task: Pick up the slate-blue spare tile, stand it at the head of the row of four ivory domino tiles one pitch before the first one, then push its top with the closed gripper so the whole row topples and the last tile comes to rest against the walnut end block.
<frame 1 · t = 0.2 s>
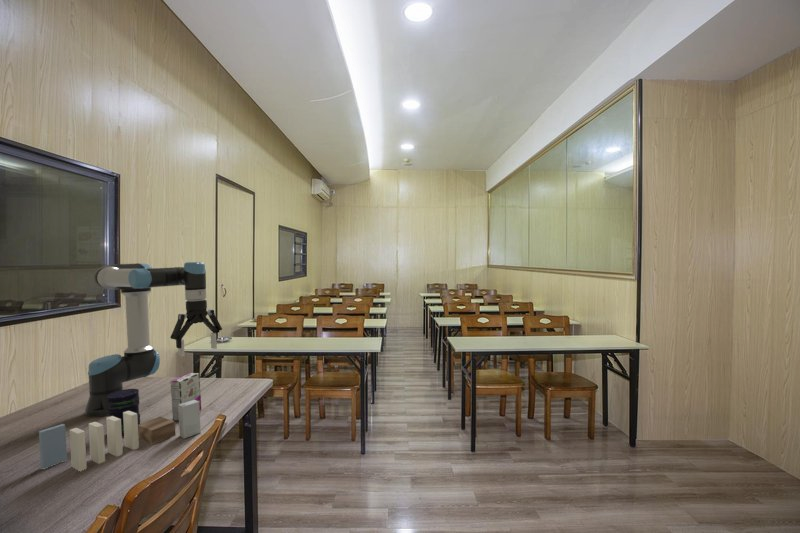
hand: (198, 352, 153), 28 cm above the table, fingers open, 13 cm apart
tile 1: (78, 467, 120), on the table
tile 3: (115, 453, 128), on the table
end block: (156, 436, 140), on the table
skincare box: (190, 435, 141), on the table
candy bar box: (187, 415, 159), on the table
storage jar: (125, 432, 145), on the table
spare tile: (54, 464, 122), on the table
tile 2: (97, 460, 124), on the table
tile 4: (131, 446, 133), on the table
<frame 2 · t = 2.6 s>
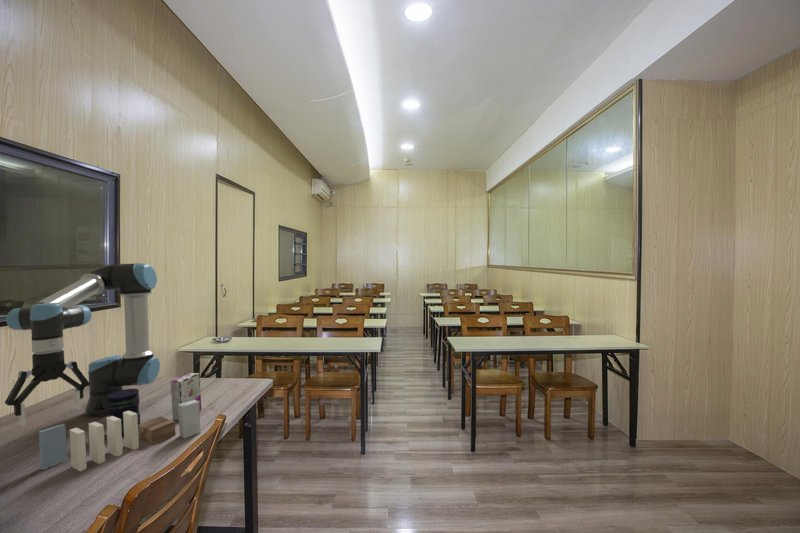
hand: (51, 416, 122), 16 cm above the table, fingers open, 13 cm apart
nothing on the table moved.
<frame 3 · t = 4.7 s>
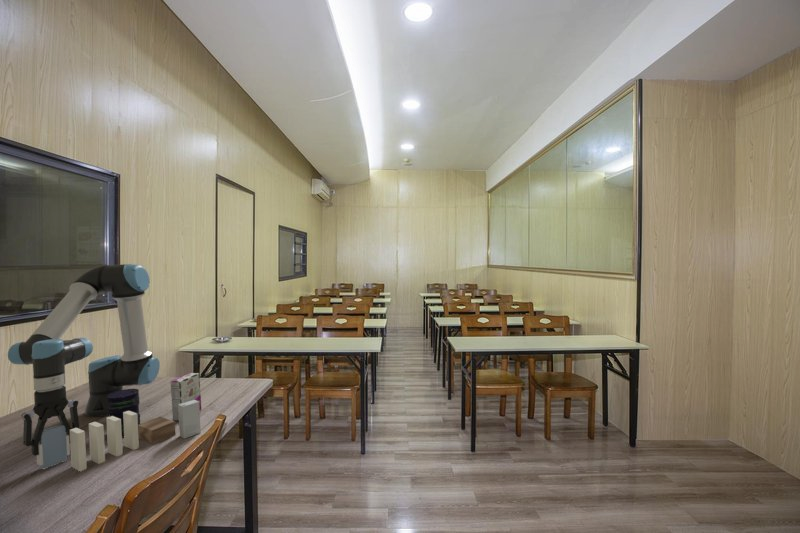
hand: (53, 458, 122), 2 cm above the table, fingers closed on spare tile, 6 cm apart
spare tile: (54, 464, 122), on the table, touching gripper
everything else where it was.
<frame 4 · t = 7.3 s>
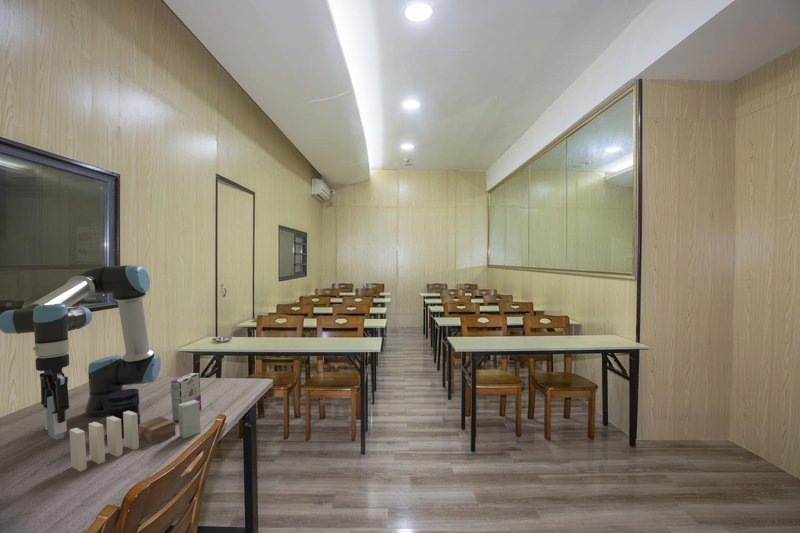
hand: (56, 430, 115), 14 cm above the table, fingers closed on spare tile, 6 cm apart
spare tile: (56, 436, 115), point 12 cm above the table, touching gripper
everything else where it was.
when the fingers open (2 cm above the table, at t = 10.0 s): spare tile stays where it is, on the table.
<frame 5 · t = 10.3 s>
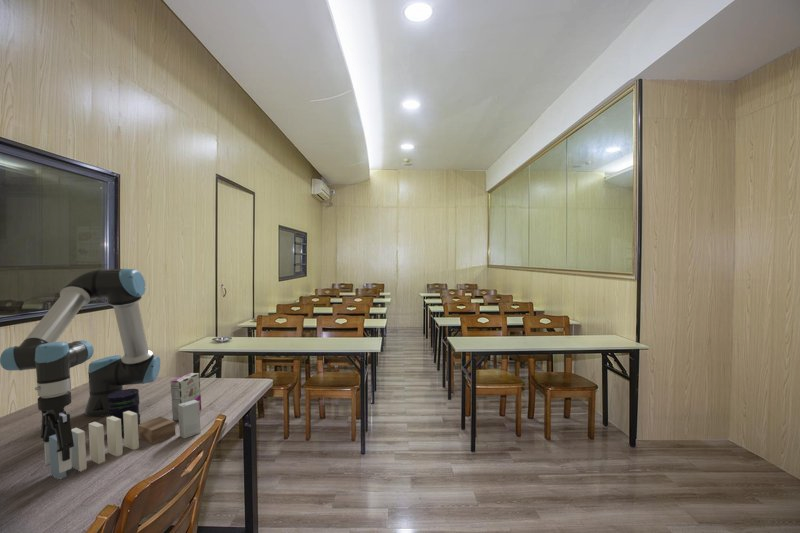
hand: (58, 465, 115), 3 cm above the table, fingers open, 10 cm apart
spare tile: (58, 476, 115), on the table
everything else where it was.
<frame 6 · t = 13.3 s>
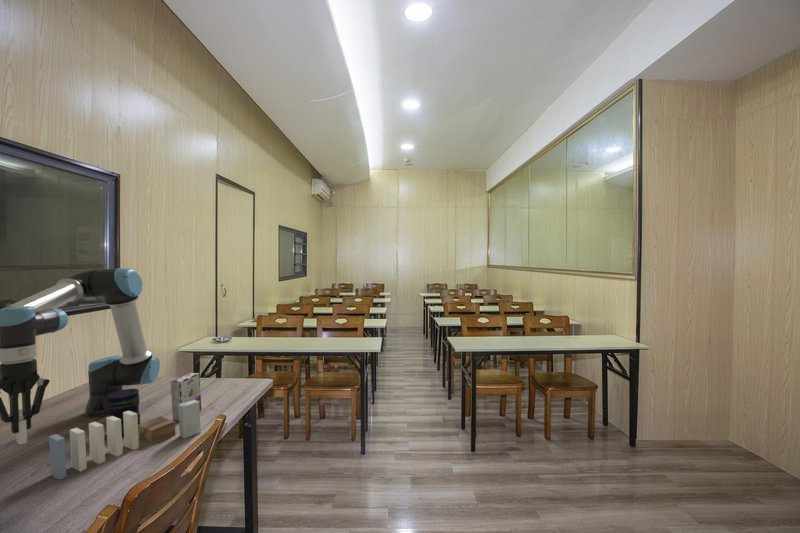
hand: (22, 442, 108), 14 cm above the table, fingers closed
nothing on the table moved.
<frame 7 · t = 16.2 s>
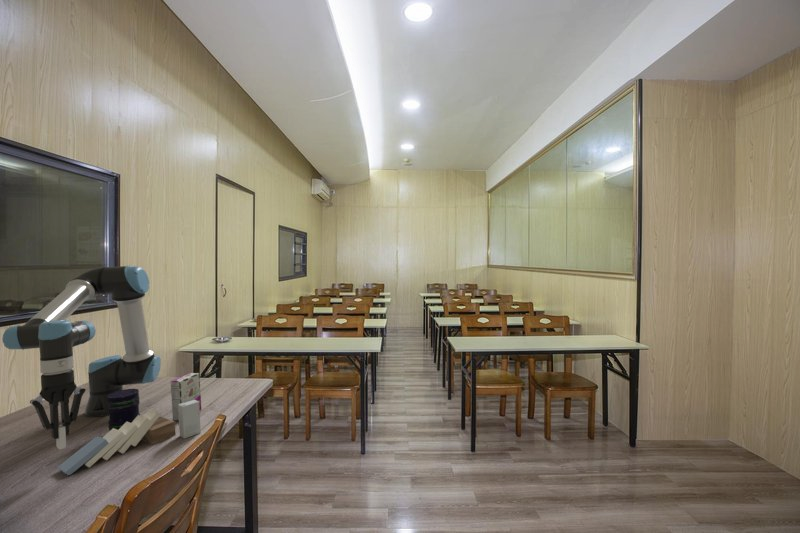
hand: (61, 447, 116), 8 cm above the table, fingers closed
tile 1: (83, 463, 121), point 1 cm above the table, tilted 59°, touching spare tile, tile 2
tile 3: (116, 450, 129), point 1 cm above the table, tilted 48°, touching tile 2, tile 4
spare tile: (62, 471, 116), point 1 cm above the table, tilted 63°, touching tile 1
tile 2: (100, 456, 125), point 1 cm above the table, tilted 55°, touching tile 1, tile 3
tile 4: (128, 443, 132), point 1 cm above the table, tilted 48°, touching end block, tile 3
everything else where it was.
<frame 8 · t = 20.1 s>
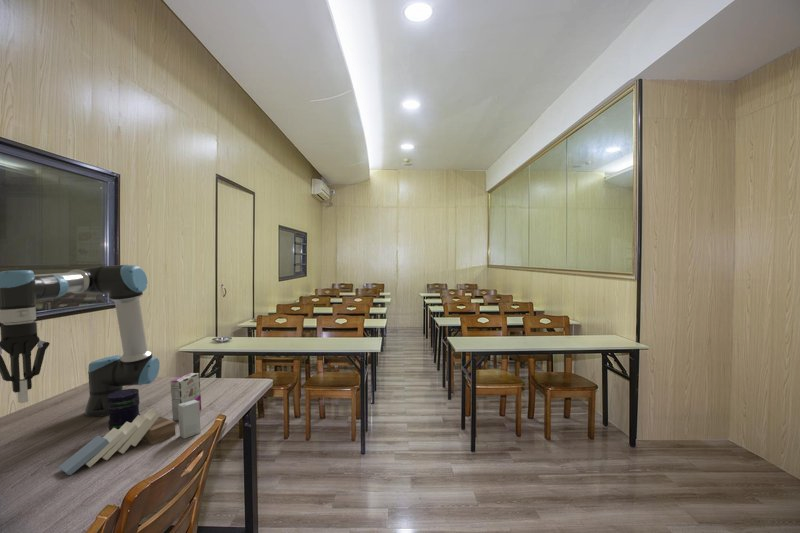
hand: (23, 401, 112), 24 cm above the table, fingers closed
nothing on the table moved.
at the end: tile 4 tilted 48°; spare tile tilted 63°; spare tile 5.1 cm from the tile 1 (horizontally) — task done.
